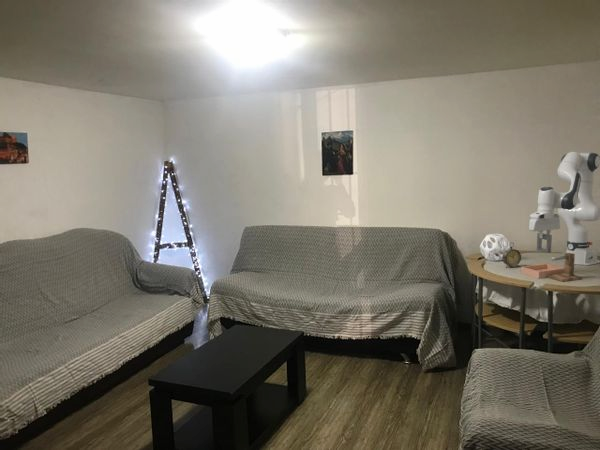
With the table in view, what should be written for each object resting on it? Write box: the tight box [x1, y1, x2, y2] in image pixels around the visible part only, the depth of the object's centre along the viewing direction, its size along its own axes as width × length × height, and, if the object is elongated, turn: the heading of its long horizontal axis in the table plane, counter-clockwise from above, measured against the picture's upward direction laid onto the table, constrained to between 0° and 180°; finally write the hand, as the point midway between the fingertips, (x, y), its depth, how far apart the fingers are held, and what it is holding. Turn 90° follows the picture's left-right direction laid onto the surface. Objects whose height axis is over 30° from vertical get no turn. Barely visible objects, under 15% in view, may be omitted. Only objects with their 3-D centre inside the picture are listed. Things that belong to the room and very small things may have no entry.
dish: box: [520, 263, 564, 279], centre depth 288 cm, size 20×14×4 cm
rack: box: [547, 252, 582, 283], centre depth 276 cm, size 17×10×14 cm, turn 108°
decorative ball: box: [479, 233, 512, 262], centre depth 329 cm, size 20×20×17 cm
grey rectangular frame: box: [536, 232, 553, 254], centre depth 286 cm, size 2×8×10 cm, turn 18°
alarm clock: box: [502, 241, 522, 269], centre depth 307 cm, size 11×5×16 cm, turn 101°
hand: (544, 237), depth 285 cm, fingers closed on grey rectangular frame, 2 cm apart
